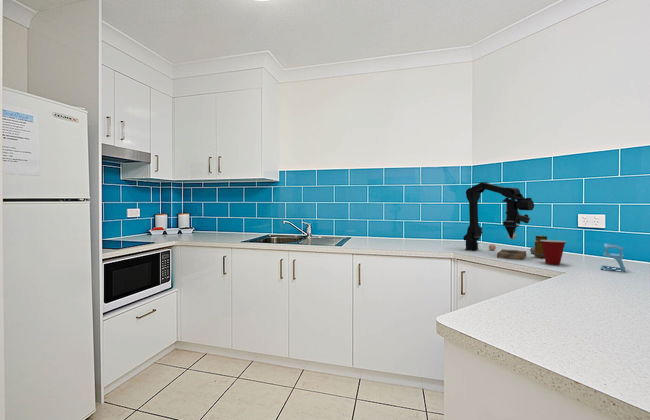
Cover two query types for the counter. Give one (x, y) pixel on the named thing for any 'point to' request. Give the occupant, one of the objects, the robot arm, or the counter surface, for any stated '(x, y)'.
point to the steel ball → (513, 236)
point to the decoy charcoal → (532, 250)
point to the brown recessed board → (511, 254)
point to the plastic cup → (553, 251)
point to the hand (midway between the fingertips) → (512, 237)
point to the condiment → (539, 247)
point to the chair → (616, 256)
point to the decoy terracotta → (492, 247)
